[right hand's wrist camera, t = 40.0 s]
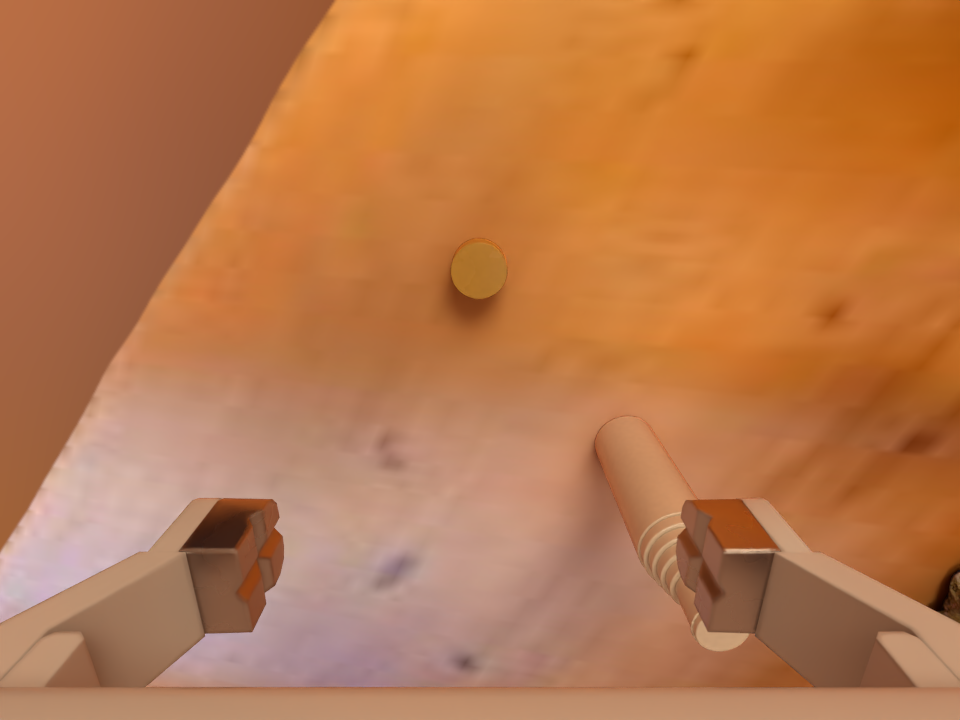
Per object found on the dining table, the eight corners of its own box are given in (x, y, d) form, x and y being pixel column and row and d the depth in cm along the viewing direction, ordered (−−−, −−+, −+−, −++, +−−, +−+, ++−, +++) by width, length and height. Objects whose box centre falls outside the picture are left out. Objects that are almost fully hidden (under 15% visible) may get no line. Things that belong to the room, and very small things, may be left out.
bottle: (651, 468, 44) (764, 668, 26) (592, 468, 44) (667, 669, 26) (657, 415, 42) (783, 591, 25) (596, 416, 42) (679, 592, 25)
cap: (459, 232, 37) (457, 236, 35) (511, 245, 37) (513, 250, 35) (447, 284, 38) (445, 291, 36) (498, 296, 39) (499, 304, 36)
